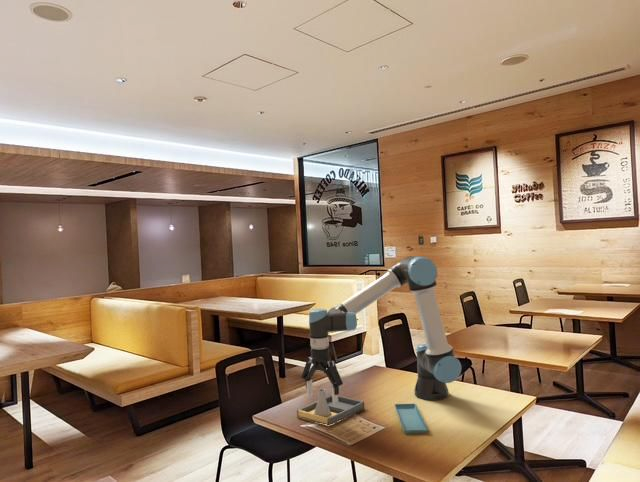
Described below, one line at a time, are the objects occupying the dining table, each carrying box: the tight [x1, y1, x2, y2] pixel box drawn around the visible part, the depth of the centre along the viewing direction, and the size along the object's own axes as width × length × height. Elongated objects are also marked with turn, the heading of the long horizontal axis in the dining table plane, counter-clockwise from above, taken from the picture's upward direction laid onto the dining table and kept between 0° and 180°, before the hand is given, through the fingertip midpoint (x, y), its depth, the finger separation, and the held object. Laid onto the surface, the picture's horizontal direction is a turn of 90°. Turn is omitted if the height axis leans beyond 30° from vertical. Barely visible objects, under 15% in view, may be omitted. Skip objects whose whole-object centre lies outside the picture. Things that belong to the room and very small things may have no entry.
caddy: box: [296, 394, 365, 425], centre depth 190 cm, size 17×23×3 cm
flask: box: [314, 388, 331, 417], centre depth 186 cm, size 7×7×10 cm
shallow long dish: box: [394, 403, 429, 435], centre depth 179 cm, size 26×9×2 cm, turn 178°
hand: (322, 399), depth 186 cm, fingers open, 13 cm apart
